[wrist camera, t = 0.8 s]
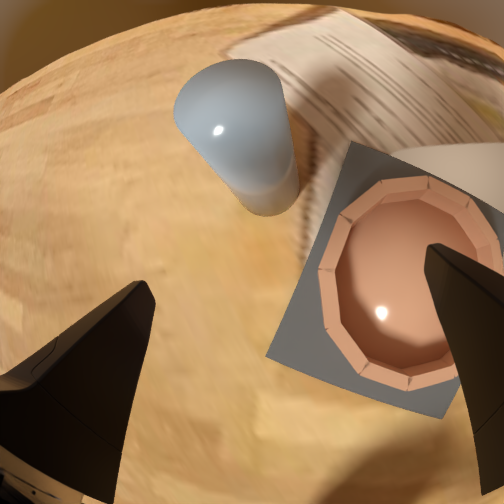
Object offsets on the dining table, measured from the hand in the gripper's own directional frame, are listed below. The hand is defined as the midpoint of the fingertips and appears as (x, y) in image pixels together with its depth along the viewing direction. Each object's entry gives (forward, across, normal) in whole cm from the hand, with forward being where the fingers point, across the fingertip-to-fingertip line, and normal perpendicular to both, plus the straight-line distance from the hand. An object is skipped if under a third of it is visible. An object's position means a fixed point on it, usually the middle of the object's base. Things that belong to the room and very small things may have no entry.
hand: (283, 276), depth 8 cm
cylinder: (+15, +2, +2) cm, 15 cm away
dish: (+9, -8, +9) cm, 15 cm away
